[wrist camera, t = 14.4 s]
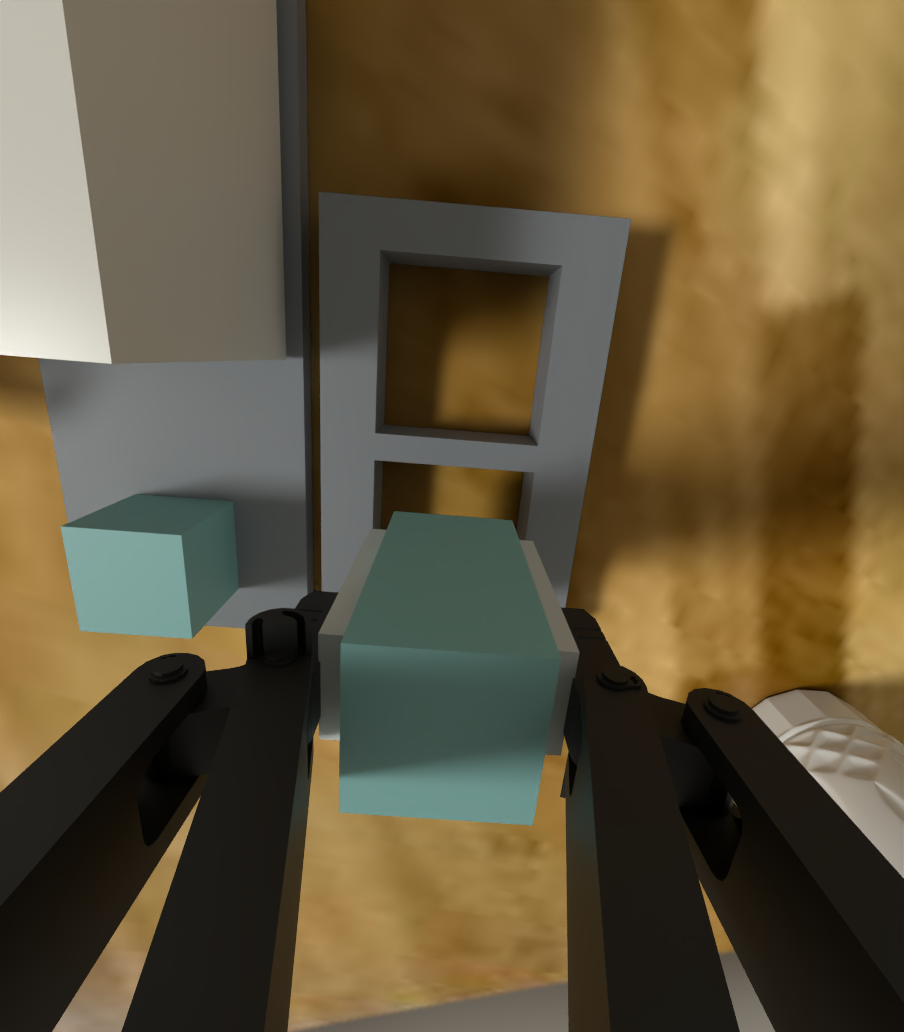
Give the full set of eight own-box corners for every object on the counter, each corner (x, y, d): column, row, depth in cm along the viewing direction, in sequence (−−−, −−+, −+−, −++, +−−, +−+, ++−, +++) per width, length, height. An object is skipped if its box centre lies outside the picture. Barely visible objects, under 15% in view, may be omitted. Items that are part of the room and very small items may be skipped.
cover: (-32, -57, 14) (-886, -780, 5) (275, -28, 14) (-31, -677, 5) (39, 339, 18) (-400, 322, 9) (286, 359, 18) (111, 363, 9)
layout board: (-7, -31, 16) (-210, -200, 11) (305, -2, 16) (241, -155, 11) (100, 606, 23) (7, 672, 18) (314, 621, 23) (277, 690, 18)
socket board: (336, 212, 18) (318, 191, 15) (608, 236, 18) (631, 219, 16) (335, 603, 23) (322, 631, 20) (548, 619, 23) (558, 648, 21)
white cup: (696, 794, 26) (834, 1044, 17) (735, 671, 24) (922, 882, 14) (840, 804, 26) (1056, 1057, 17) (893, 683, 24) (1182, 899, 14)
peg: (394, 511, 16) (340, 643, 9) (512, 520, 16) (561, 658, 9) (389, 616, 18) (338, 812, 10) (499, 624, 18) (532, 825, 10)
